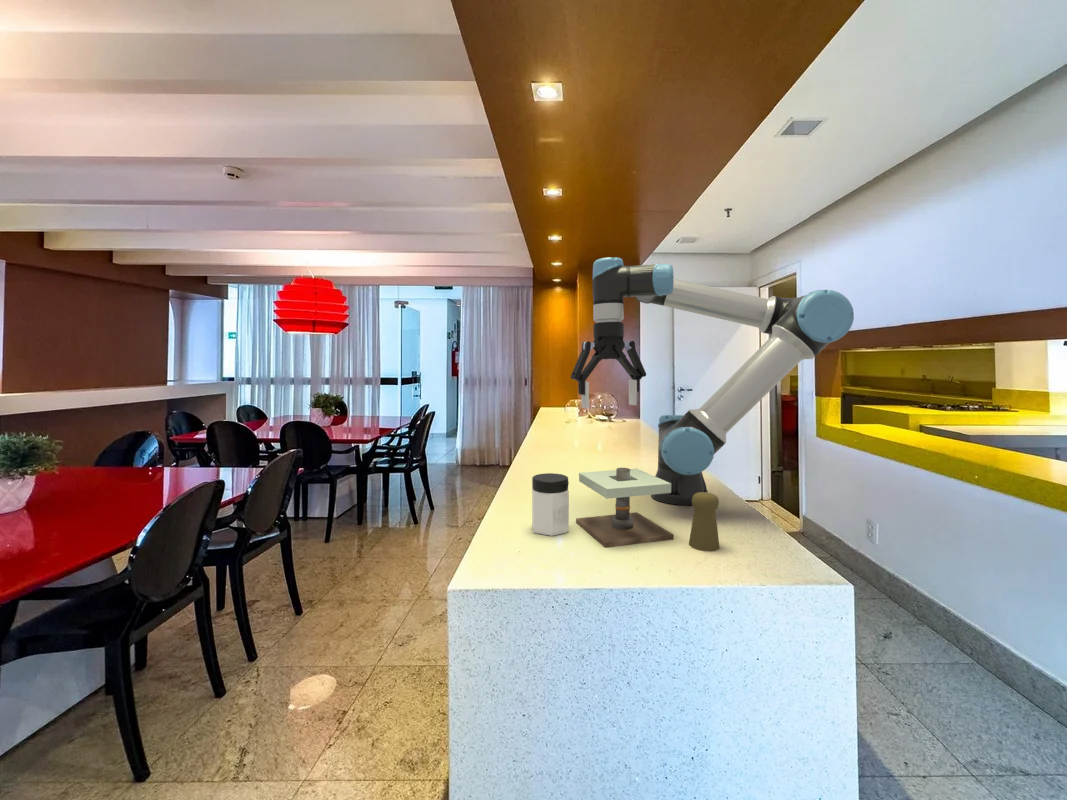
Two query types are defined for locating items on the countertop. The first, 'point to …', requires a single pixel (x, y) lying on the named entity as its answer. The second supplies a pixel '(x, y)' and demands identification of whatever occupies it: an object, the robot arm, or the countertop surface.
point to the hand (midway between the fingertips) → (609, 406)
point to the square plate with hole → (624, 484)
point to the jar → (550, 504)
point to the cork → (704, 522)
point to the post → (623, 523)
